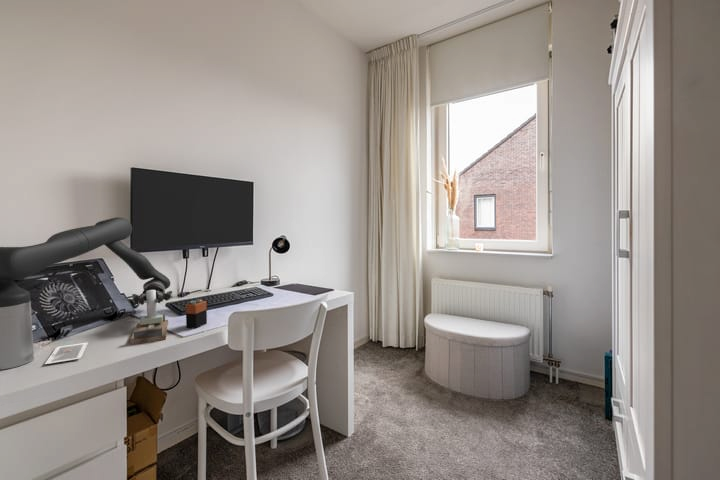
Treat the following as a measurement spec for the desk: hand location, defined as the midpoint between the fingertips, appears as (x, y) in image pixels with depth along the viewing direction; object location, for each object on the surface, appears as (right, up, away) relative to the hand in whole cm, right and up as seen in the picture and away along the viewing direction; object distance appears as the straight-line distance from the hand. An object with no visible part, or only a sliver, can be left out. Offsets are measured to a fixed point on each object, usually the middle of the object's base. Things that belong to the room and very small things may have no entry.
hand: (150, 301), depth 124 cm
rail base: (+1, -11, -2) cm, 11 cm away
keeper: (-1, -8, +3) cm, 9 cm away
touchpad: (-12, -13, -21) cm, 28 cm away
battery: (+14, -11, +7) cm, 19 cm away
